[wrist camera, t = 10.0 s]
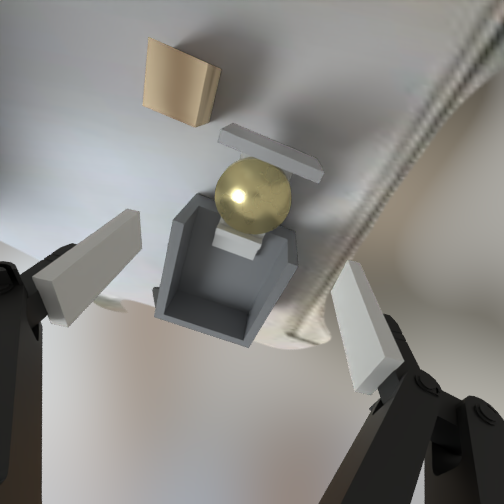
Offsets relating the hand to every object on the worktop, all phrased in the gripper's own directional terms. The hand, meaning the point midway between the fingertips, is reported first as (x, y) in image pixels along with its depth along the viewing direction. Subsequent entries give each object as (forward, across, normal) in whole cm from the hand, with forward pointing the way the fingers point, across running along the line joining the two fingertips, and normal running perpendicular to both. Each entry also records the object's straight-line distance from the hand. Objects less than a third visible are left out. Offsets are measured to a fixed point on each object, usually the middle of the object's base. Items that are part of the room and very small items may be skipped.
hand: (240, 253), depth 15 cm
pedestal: (+17, -9, +8) cm, 20 cm away
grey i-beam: (+14, 0, -2) cm, 14 cm away
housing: (+17, -2, -13) cm, 21 cm away
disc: (+13, 0, -1) cm, 13 cm away
